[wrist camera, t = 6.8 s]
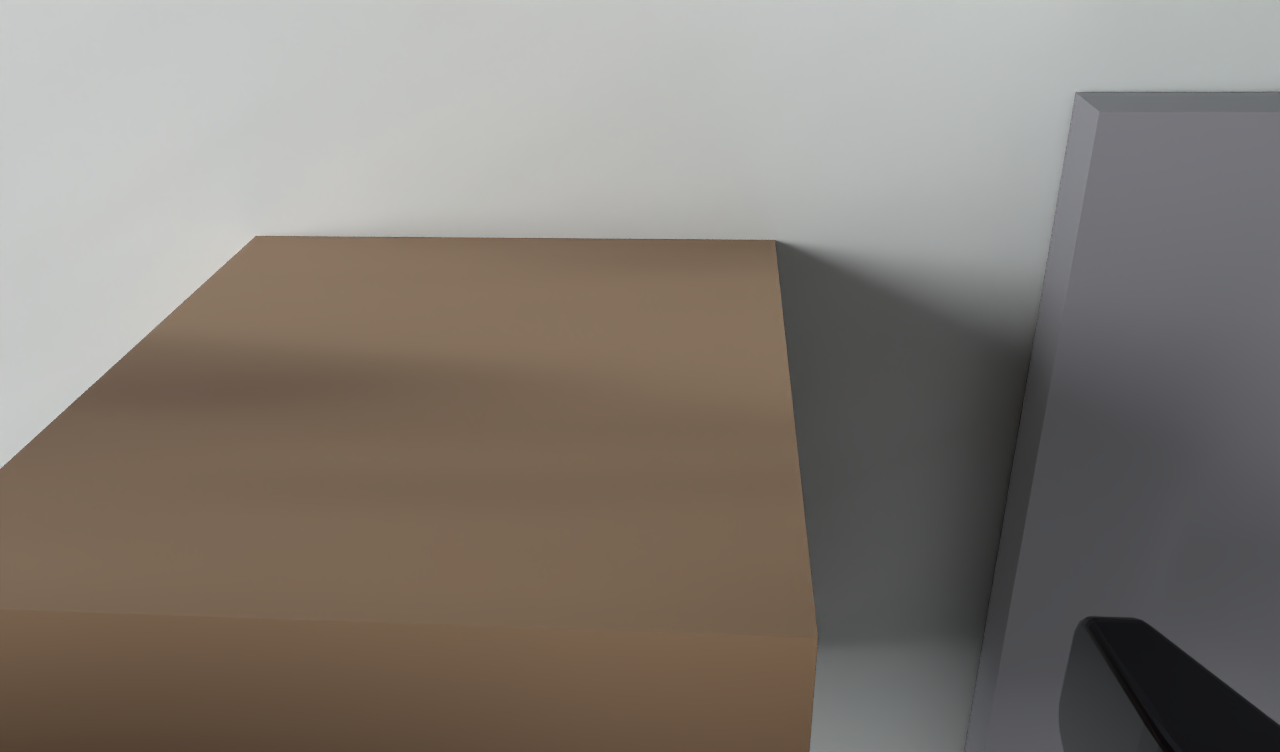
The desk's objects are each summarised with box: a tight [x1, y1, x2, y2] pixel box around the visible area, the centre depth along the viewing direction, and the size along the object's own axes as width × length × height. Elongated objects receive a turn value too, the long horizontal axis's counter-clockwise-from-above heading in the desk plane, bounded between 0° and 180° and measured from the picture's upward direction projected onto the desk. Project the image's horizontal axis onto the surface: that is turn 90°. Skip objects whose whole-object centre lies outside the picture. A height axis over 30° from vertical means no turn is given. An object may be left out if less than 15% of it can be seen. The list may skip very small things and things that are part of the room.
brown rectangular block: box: [0, 236, 818, 752], centre depth 8 cm, size 4×4×5 cm
